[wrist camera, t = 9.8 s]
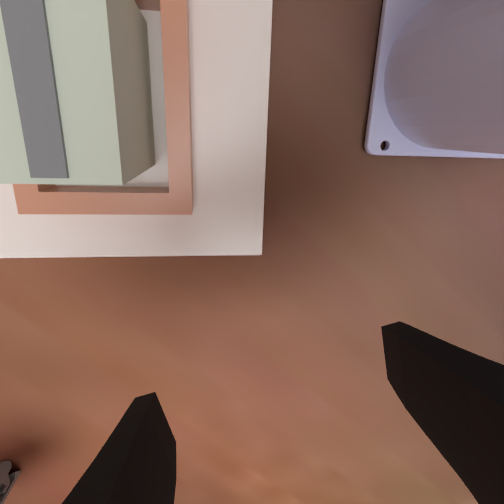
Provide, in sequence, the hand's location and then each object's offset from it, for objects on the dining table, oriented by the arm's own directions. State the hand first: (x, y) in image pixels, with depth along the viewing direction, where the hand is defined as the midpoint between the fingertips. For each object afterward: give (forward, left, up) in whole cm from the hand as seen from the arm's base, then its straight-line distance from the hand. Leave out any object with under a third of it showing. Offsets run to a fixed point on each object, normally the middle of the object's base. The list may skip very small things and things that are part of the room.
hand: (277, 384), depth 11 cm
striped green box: (+7, -9, -9) cm, 14 cm away
